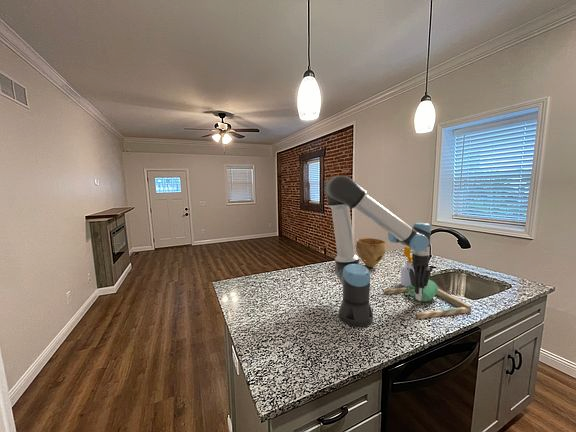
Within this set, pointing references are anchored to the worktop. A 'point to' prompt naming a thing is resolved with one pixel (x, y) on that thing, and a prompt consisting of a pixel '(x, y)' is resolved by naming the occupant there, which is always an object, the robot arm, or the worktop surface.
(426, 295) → the mug
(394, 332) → the worktop surface
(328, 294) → the worktop surface
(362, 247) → the bowl
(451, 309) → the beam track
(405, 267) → the soap bottle
